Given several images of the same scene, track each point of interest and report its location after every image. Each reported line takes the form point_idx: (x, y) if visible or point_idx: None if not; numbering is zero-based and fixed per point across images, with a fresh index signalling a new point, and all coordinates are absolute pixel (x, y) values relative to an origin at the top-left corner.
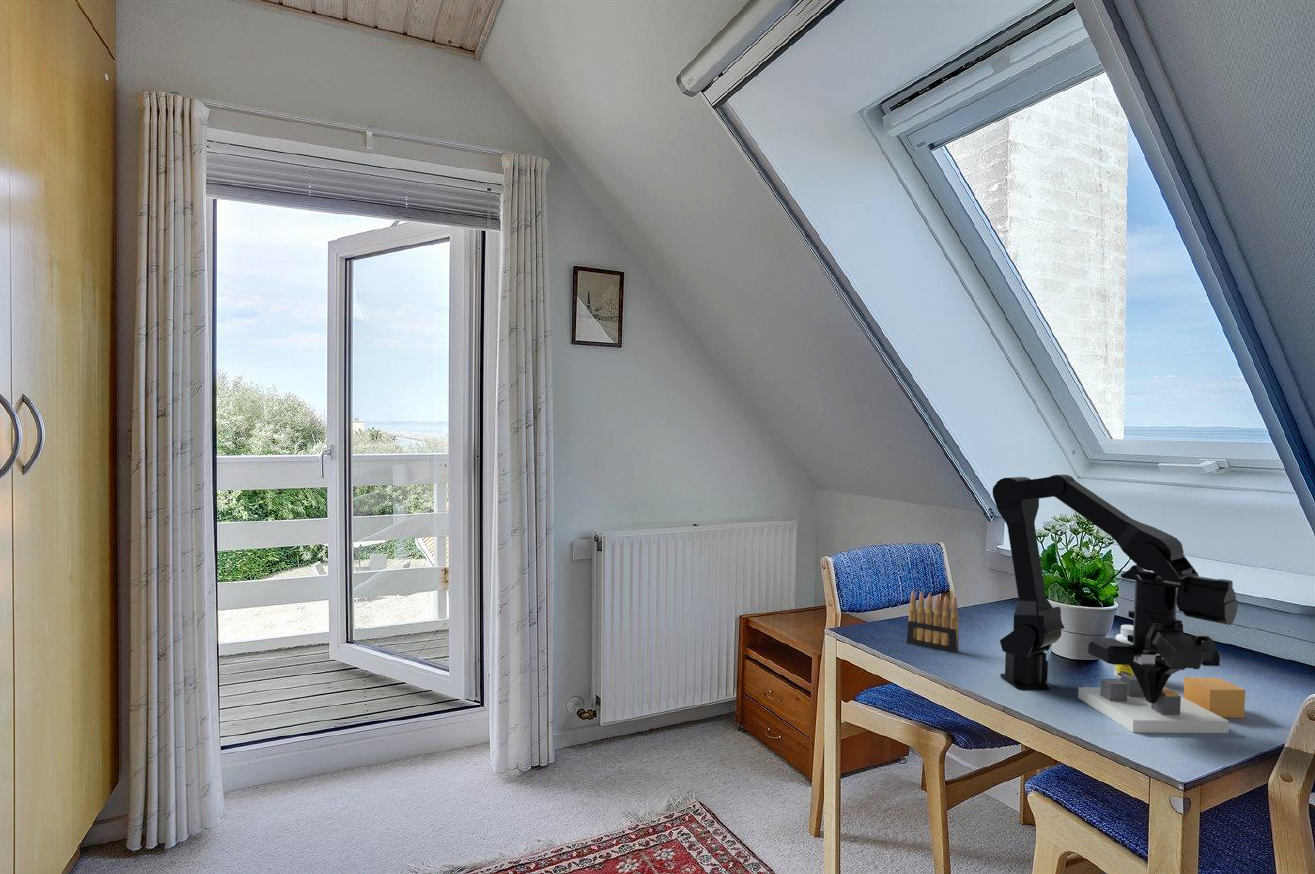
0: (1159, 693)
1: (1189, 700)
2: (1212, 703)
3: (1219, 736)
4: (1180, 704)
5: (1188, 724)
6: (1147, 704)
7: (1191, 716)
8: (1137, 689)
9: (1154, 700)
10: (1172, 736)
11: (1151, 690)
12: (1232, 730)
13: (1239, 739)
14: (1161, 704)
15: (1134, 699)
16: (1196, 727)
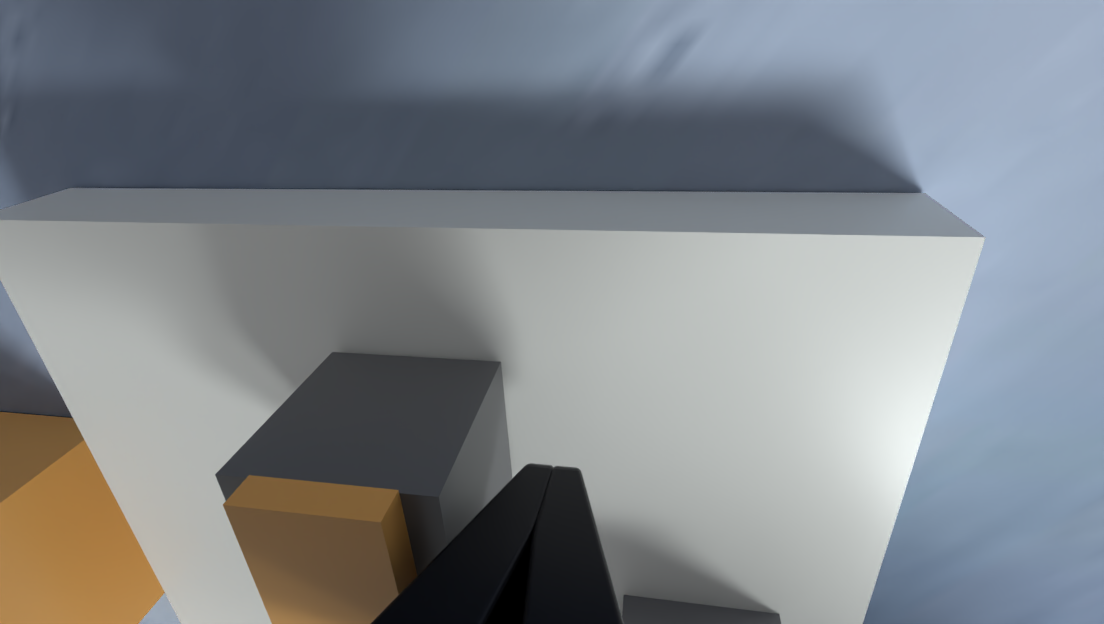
0: (464, 540)
1: (136, 572)
2: (2, 484)
3: (159, 126)
4: None
5: (344, 212)
6: None
7: (250, 314)
8: None
9: (540, 480)
10: (573, 111)
11: (585, 589)
12: None
13: (28, 72)
14: (476, 433)
15: None
16: (285, 204)
